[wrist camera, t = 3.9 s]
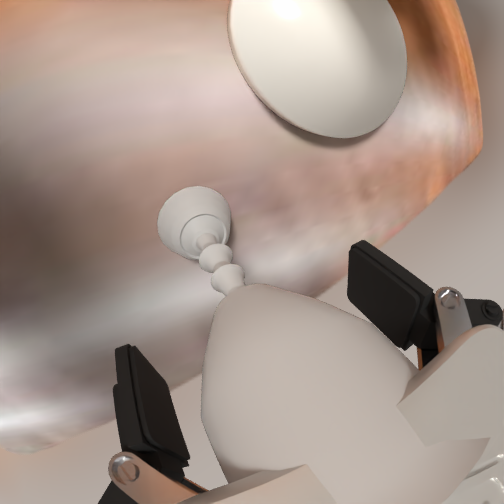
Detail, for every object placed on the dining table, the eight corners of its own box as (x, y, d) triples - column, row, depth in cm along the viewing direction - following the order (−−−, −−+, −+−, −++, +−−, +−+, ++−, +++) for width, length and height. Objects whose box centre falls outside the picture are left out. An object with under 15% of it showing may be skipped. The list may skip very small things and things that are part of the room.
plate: (206, -49, 8) (211, -57, 7) (378, -24, 12) (387, -26, 11) (254, 157, 17) (262, 160, 16) (403, 124, 21) (413, 126, 20)
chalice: (140, 269, 18) (235, 566, 4) (142, 170, 15) (319, 602, 1) (237, 264, 21) (399, 479, 7) (253, 176, 18) (519, 376, 4)
